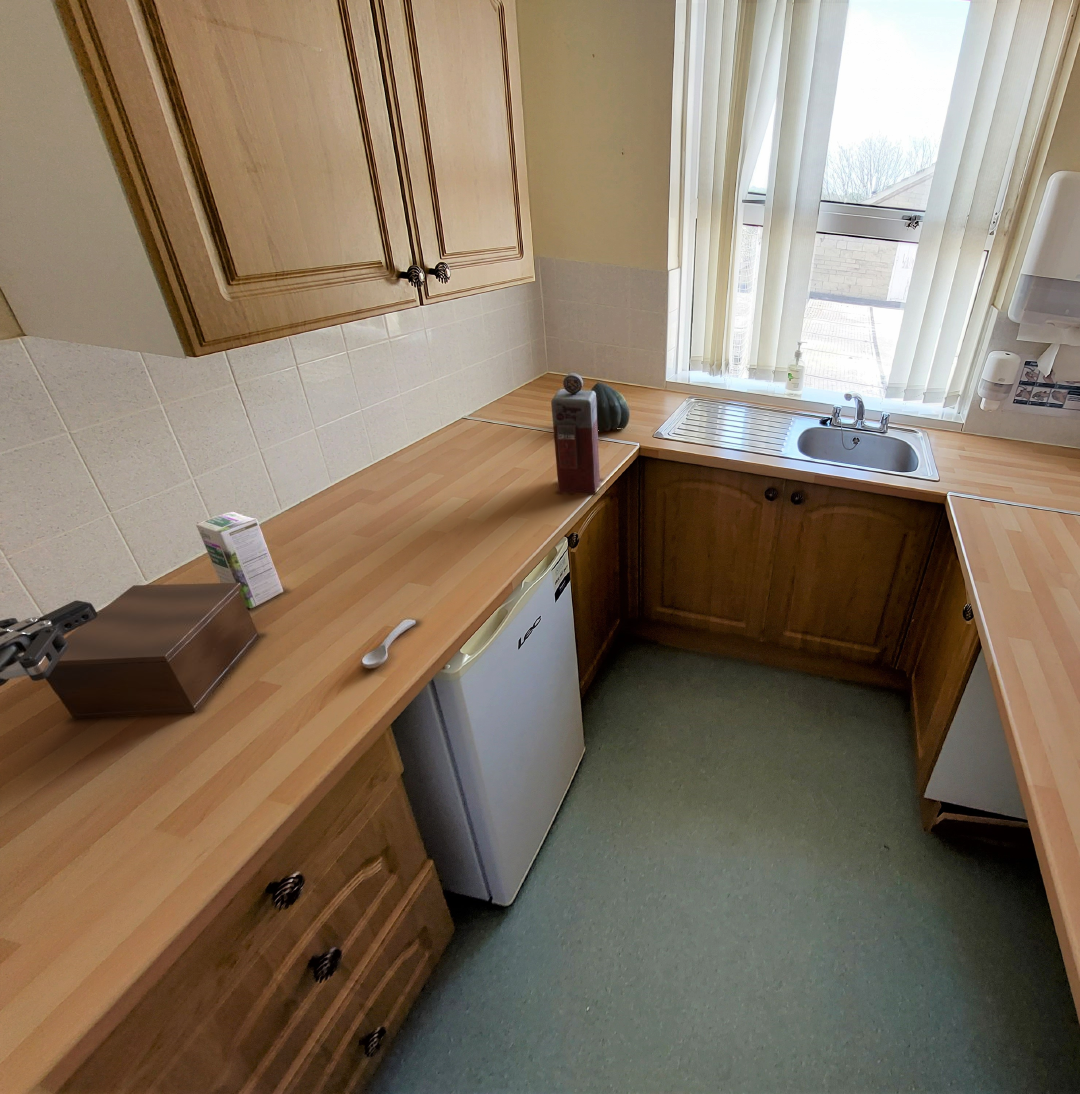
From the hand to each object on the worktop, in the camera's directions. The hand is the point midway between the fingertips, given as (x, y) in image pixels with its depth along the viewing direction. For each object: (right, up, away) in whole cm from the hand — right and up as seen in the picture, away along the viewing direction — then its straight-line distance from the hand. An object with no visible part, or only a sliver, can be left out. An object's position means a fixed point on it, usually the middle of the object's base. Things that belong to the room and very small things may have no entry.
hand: (88, 607), depth 65 cm
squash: (+33, +45, +118) cm, 131 cm away
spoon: (+20, -9, +24) cm, 33 cm away
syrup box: (-8, -2, +32) cm, 33 cm away
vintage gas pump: (+35, +22, +79) cm, 89 cm away
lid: (-5, -3, +12) cm, 13 cm away
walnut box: (-6, -11, +16) cm, 20 cm away
